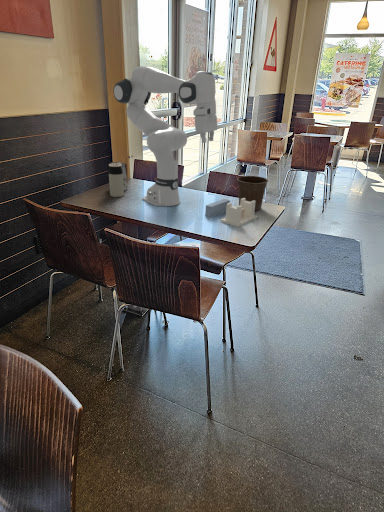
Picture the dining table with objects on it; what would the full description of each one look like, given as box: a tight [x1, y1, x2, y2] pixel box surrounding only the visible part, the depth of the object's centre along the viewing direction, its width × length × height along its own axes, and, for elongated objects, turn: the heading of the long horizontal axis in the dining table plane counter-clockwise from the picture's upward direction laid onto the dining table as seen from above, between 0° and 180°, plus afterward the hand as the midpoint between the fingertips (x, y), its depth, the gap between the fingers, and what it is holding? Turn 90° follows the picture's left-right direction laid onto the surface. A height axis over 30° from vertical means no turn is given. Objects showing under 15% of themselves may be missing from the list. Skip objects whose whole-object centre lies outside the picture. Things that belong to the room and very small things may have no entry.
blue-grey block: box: [204, 198, 231, 219], centre depth 180 cm, size 4×16×6 cm, turn 139°
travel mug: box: [107, 163, 125, 198], centre depth 201 cm, size 8×8×18 cm
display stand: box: [220, 198, 259, 228], centre depth 171 cm, size 10×18×9 cm, turn 139°
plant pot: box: [236, 175, 269, 212], centre depth 188 cm, size 16×16×16 cm
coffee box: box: [110, 161, 129, 191], centre depth 214 cm, size 9×6×16 cm
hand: (207, 142), depth 164 cm, fingers open, 8 cm apart
